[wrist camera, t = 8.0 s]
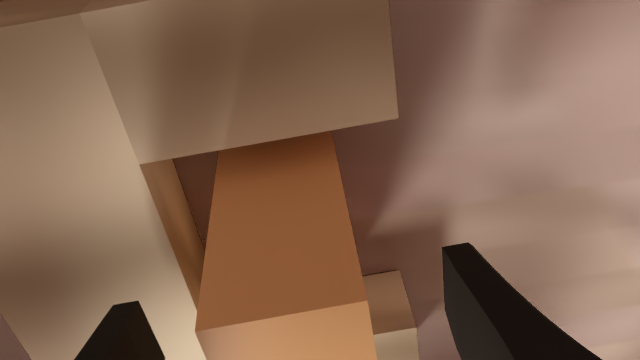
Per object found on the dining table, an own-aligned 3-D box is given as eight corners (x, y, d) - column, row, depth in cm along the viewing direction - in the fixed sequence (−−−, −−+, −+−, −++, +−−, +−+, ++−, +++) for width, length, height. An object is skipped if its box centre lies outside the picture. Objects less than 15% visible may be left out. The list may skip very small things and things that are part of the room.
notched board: (406, 339, 21) (422, 399, 18) (113, 390, 21) (95, 454, 19) (365, -66, 13) (385, -43, 11) (-102, 19, 13) (-172, 58, 11)
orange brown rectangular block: (351, 252, 18) (393, 460, 12) (260, 268, 18) (259, 484, 12) (328, 116, 15) (367, 300, 10) (220, 136, 15) (194, 331, 10)
